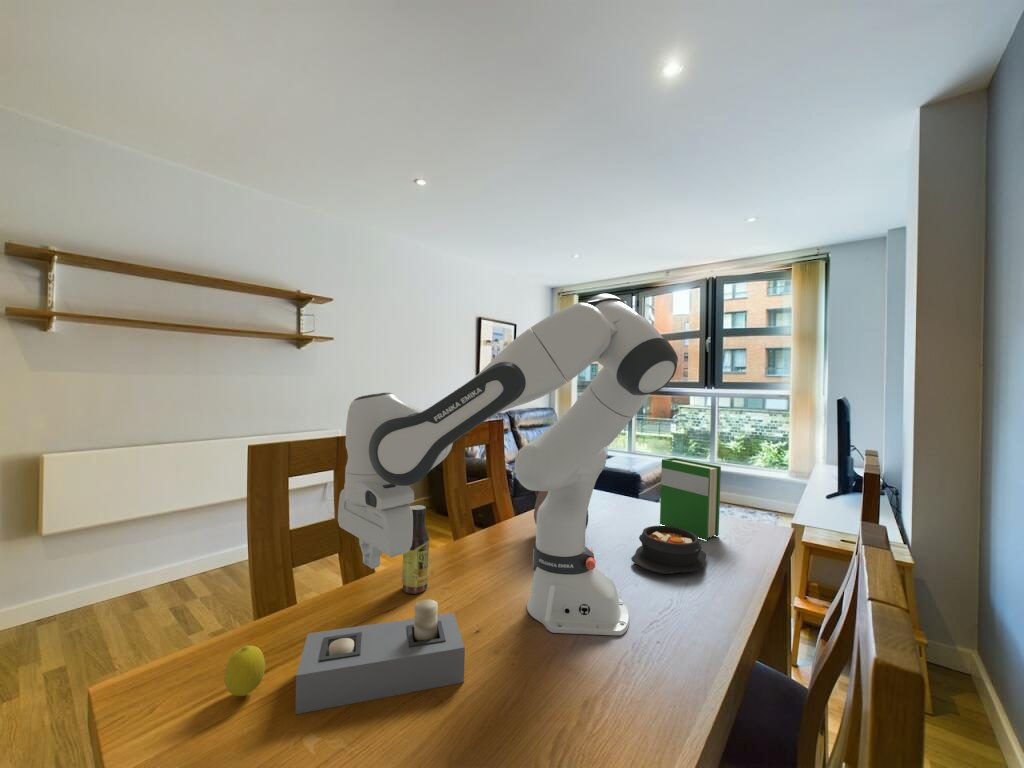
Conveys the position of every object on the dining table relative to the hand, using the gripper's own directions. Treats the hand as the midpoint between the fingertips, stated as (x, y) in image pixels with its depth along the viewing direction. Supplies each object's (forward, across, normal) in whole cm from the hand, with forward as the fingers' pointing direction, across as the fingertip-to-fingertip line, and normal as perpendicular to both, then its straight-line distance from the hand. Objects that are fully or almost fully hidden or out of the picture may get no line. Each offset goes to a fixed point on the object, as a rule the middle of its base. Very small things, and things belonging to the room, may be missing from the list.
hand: (371, 565), depth 74 cm
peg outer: (+19, -1, -5) cm, 19 cm away
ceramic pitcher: (+19, -18, +74) cm, 78 cm away
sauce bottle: (+19, -20, +22) cm, 35 cm away
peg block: (+19, +2, +2) cm, 19 cm away
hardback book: (+20, +10, +113) cm, 115 cm away
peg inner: (+14, +6, +8) cm, 17 cm away
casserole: (+20, +16, +83) cm, 87 cm away
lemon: (+19, -9, -17) cm, 27 cm away
